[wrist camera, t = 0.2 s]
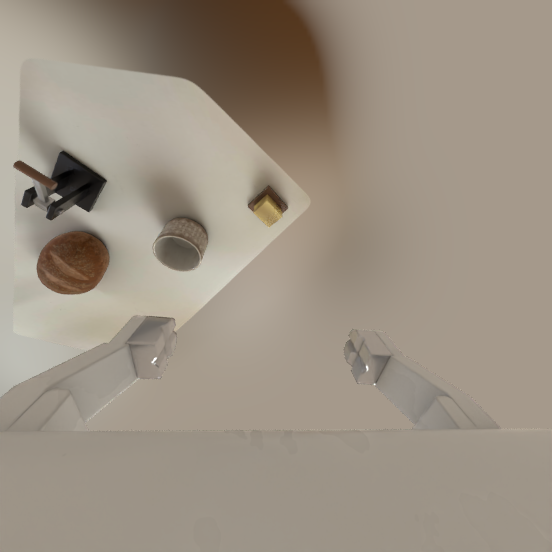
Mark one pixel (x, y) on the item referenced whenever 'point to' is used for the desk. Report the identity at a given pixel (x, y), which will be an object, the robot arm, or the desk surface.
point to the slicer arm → (38, 185)
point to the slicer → (69, 187)
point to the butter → (268, 206)
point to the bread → (72, 263)
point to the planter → (181, 244)
